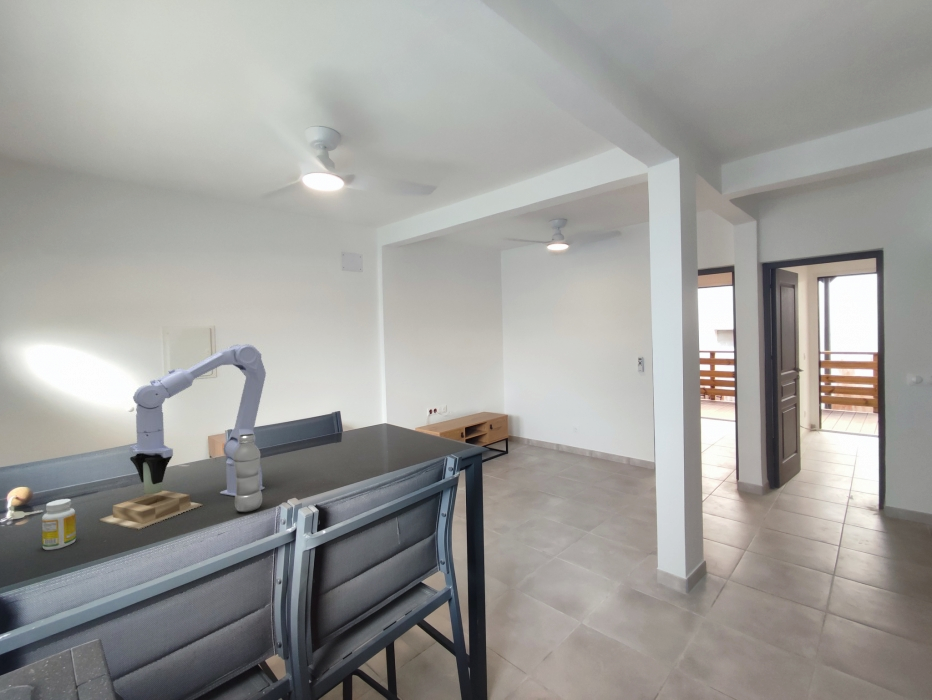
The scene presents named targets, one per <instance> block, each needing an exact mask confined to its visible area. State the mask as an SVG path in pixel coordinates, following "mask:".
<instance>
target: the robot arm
mask: <svg viewBox="0 0 932 700" xmlns="http://www.w3.org/2000/svg"><path fill="white" fill-rule="evenodd" d="M231 365H232V366H234V367H236V368H237V369H238V370H240V372H242V374H243V375H244V376H245V380H244V384H243V390H242V394H241V398H240V402H239V405H238V411H237V416H236V420H235V425H234V428H233V429H232V430H231V432H230V434H229V437H228V439H227V441H226V442H225V443H224V445H223V453H224V456H226V457H227V460H226V462H225V463H226V464H225V467H226V468H225V469H226V489H225V490H222V491H220V492H219V494H221V495H226V496H232V497H233V496H234V497H235V495H236V484H237V480H236V478H237V477H236V470H235V465H234V461H233V455H234V453H235V451H236V449H237V448H238V447H239V445H240V443H238V441H239V435H243V434H254V439H255V441H254V444H255V443H256V435H255V432H254V430H255V424H256V420H257V416H258V411H259V407H260V403H261V398H262V394H263V388H264V384H265V380H266V376H267V375H266V374H267V372H266V369H265V366H264V363H263V360H262V353H261V352H260V351H259V350H258V349H257V348H256V347H255V346H254V345H251V344H247V343H246V344H242V345H241V344H234V345H232V346H230V347H227V348H224V349H221V350H219V351H216V353H213V354H212V355H210V356H209V357H207V358H205V359H203V360H201V361H199V362H198V363H196V364H194V365H193V366H191V367H189V368H187V369H184V368H177V369H174V368H172V369H170V370H168V373H166V374H165V375H163V376H162V377H159V378H157V379H151V380H150V381H149V383H150V384H146V385H142V386H140V387H138V388H137V389H136V391H135V392H134V393H133V394H134V395H133V396H132V399H133V401H134V403H135V404H136V407H135V411H136V415H135V423H136V427H135V428H136V444H135V445H130V446H129V454H131V455H132V454H135V455H134V456H131V457H129V460H130V461H131V462H132V463H133V465H134V466H135V469H136V470H137V473H138V476H139V480H140V481H141V483H144V476H143V463H144V462H146V463H147V464H148V466H149V469H150V474H151V480H152V483H153V484H157V483H161V482H163V480H164V478H165V473H166V469H167V466H168V465H169V463H170V461H171V460H172V457H173V456H174V452H173V451H174V448H171V447H168V446H166V445H165V436H164V435H165V431H164V430H165V429H164V412H163V404H164V403H165V401H166V399H171V398H172V397H173V396H176V395H178V394H179V393H181V392H183V391H184V390H186V389H188V388H190V387H191V386H192V385H193V382H194V380H195V379H198V378H199V377H201V376H203V375H205V374H207V373H208V372H211V371H213V370H216V369H217V368H219V367H221V366H231ZM255 445H256V444H255ZM262 469H263V468H262V466H261V464H259V483H260V490H261V491H262V490H265V486H263V471H262Z"/></svg>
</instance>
